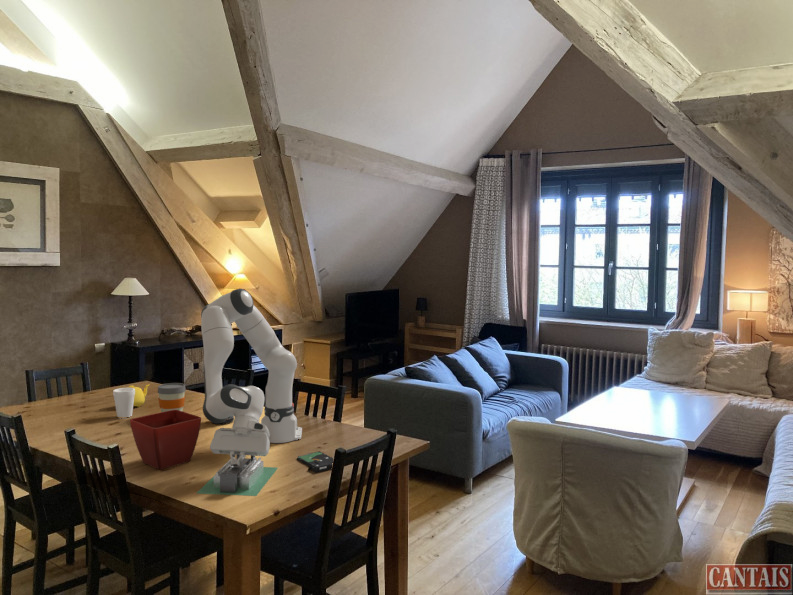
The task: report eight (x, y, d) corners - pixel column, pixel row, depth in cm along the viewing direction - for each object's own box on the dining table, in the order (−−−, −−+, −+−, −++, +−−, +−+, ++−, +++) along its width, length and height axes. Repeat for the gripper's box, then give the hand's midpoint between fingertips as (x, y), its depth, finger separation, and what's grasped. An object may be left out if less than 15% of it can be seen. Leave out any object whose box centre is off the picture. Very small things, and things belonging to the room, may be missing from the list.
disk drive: (340, 468, 225) (319, 457, 237) (340, 461, 225) (319, 450, 237) (316, 474, 219) (295, 462, 230) (316, 467, 219) (296, 455, 230)
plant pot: (129, 462, 227) (128, 418, 226) (176, 450, 242) (175, 408, 241) (155, 475, 215) (154, 428, 214) (203, 461, 230) (202, 417, 229)
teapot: (146, 401, 320) (145, 381, 319) (155, 405, 312) (154, 384, 311) (110, 407, 307) (110, 386, 306) (118, 411, 299) (118, 390, 298)
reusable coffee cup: (152, 417, 289) (151, 386, 288) (174, 411, 300) (174, 381, 299) (169, 421, 283) (169, 389, 282) (191, 415, 293) (191, 384, 292)
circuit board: (224, 468, 223) (224, 465, 223) (278, 470, 221) (278, 467, 221) (195, 496, 197) (195, 493, 197) (256, 498, 195) (256, 495, 195)
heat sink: (230, 470, 217) (230, 451, 217) (263, 472, 216) (263, 452, 216) (209, 492, 198) (209, 471, 197) (245, 493, 197) (245, 472, 197)
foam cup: (128, 413, 297) (128, 386, 296) (139, 416, 291) (138, 389, 290) (109, 417, 289) (109, 390, 288) (120, 420, 284) (119, 393, 283)
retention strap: (242, 463, 216) (242, 457, 216) (250, 463, 216) (250, 458, 216) (225, 480, 200) (225, 474, 200) (234, 480, 200) (234, 474, 199)
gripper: (214, 423, 214) (202, 459, 205) (270, 426, 212) (261, 462, 203) (218, 432, 219) (207, 467, 210) (274, 435, 217) (265, 471, 208)
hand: (234, 465), depth 206 cm, fingers closed, pressing on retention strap
